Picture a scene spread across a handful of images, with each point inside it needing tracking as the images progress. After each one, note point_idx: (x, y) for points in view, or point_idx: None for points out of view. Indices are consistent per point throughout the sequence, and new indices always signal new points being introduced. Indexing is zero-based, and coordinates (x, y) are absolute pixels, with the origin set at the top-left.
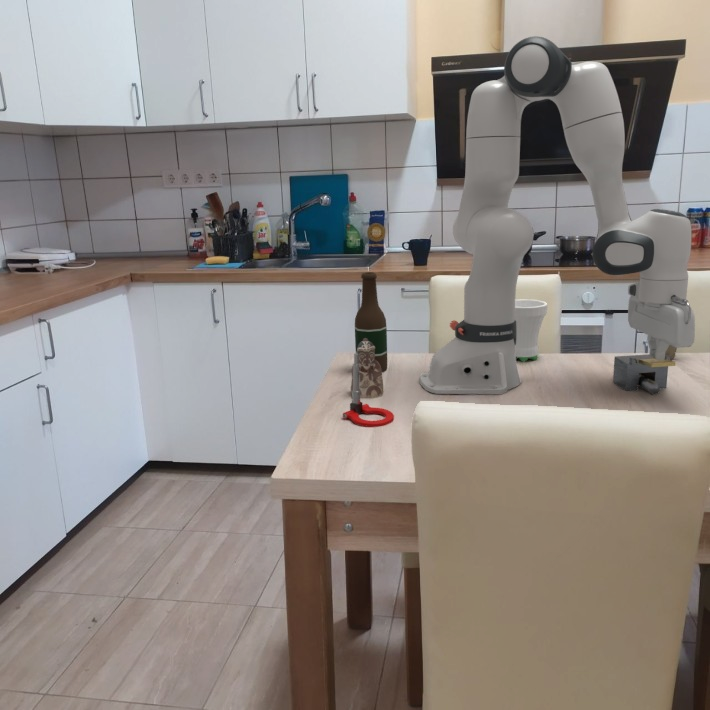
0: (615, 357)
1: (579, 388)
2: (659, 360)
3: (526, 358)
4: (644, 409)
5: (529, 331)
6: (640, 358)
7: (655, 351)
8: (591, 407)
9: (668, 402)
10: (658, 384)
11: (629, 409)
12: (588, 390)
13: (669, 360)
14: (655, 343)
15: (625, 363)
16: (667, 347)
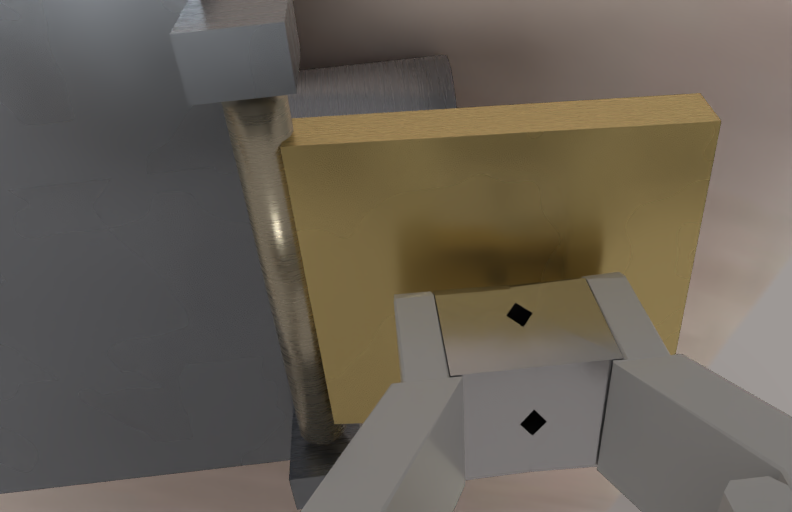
0: (18, 487)
1: (245, 492)
2: (492, 263)
3: None
4: (740, 274)
5: None
6: (43, 290)
7: (604, 465)
8: (603, 497)
9: (663, 52)
10: (454, 101)
11: (704, 350)
12: (289, 461)
13: (553, 144)
14: (421, 505)
15: (259, 454)
16: (788, 424)
